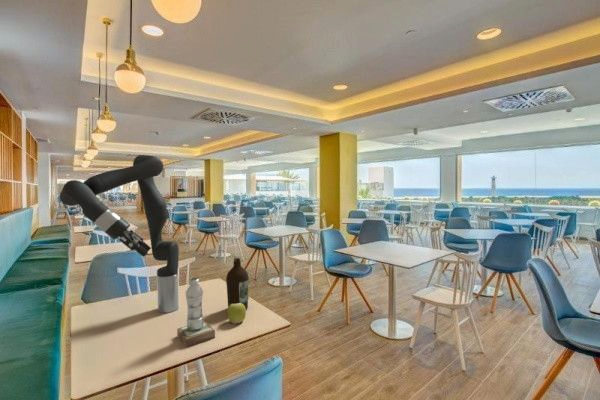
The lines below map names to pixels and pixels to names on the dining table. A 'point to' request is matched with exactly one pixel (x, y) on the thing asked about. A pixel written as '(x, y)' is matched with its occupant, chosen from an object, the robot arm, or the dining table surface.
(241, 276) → the olive oil
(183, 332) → the walnut base
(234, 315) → the apple
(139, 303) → the dining table surface
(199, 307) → the plastic bottle
